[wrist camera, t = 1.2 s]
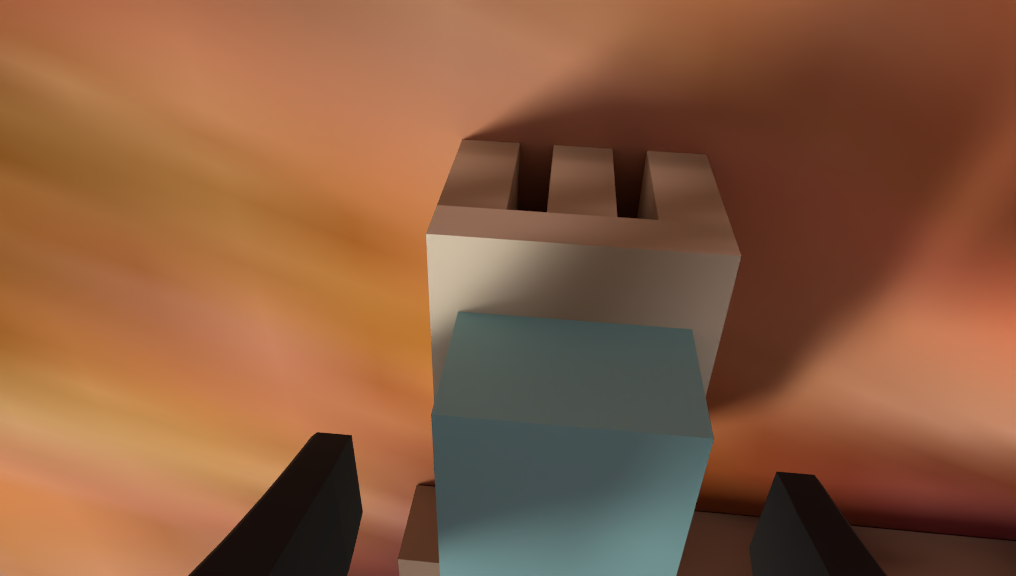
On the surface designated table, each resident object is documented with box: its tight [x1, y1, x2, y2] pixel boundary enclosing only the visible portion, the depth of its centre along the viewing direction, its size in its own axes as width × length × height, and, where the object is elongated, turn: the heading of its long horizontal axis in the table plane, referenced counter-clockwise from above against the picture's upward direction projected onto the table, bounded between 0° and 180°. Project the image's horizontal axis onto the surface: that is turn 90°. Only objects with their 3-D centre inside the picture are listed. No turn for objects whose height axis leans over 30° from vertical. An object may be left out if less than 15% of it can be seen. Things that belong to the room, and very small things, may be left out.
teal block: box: [431, 312, 714, 576], centre depth 12 cm, size 4×5×2 cm
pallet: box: [426, 139, 741, 402], centre depth 15 cm, size 5×8×4 cm, turn 178°
